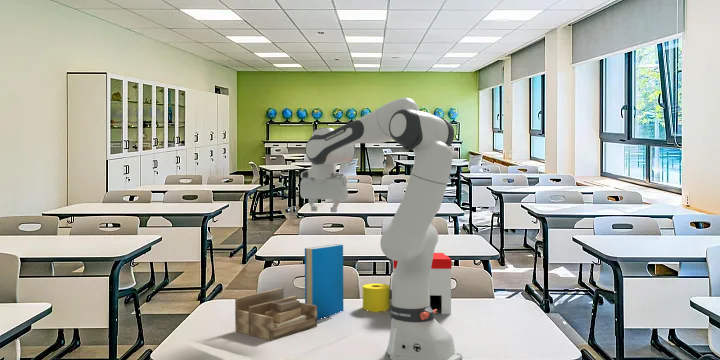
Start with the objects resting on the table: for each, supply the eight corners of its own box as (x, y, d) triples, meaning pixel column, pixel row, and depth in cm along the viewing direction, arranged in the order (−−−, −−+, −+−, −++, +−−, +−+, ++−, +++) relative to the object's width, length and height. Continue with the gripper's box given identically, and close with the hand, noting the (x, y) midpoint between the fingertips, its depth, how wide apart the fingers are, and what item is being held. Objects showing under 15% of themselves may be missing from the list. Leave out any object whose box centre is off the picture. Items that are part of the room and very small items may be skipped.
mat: (352, 313, 218) (352, 312, 218) (315, 324, 202) (315, 323, 202) (331, 309, 224) (331, 308, 224) (294, 319, 208) (294, 318, 208)
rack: (317, 326, 200) (316, 293, 200) (271, 340, 183) (271, 305, 183) (281, 318, 210) (281, 287, 210) (235, 331, 194) (235, 297, 194)
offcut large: (306, 324, 198) (306, 315, 198) (277, 334, 187) (277, 324, 187) (290, 321, 202) (290, 312, 202) (261, 330, 191) (261, 321, 191)
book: (313, 321, 205) (313, 249, 205) (304, 319, 208) (304, 248, 207) (344, 311, 218) (344, 244, 218) (336, 310, 221) (335, 243, 221)
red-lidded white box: (393, 316, 214) (393, 258, 214) (393, 295, 249) (393, 246, 249) (451, 316, 213) (451, 259, 213) (442, 296, 248) (442, 246, 248)
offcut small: (299, 308, 196) (299, 300, 196) (281, 312, 190) (281, 304, 190) (289, 305, 199) (289, 298, 199) (271, 310, 193) (270, 302, 193)
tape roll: (357, 310, 223) (357, 285, 222) (379, 306, 228) (379, 282, 228) (372, 315, 214) (372, 289, 214) (394, 312, 220) (394, 286, 220)
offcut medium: (300, 316, 197) (300, 307, 197) (279, 323, 188) (279, 314, 188) (286, 314, 200) (286, 305, 200) (265, 321, 191) (265, 312, 191)
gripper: (351, 173, 208) (351, 212, 209) (309, 173, 221) (309, 210, 221) (340, 173, 204) (340, 213, 204) (297, 173, 216) (297, 211, 216)
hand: (323, 211), depth 213 cm, fingers open, 8 cm apart
